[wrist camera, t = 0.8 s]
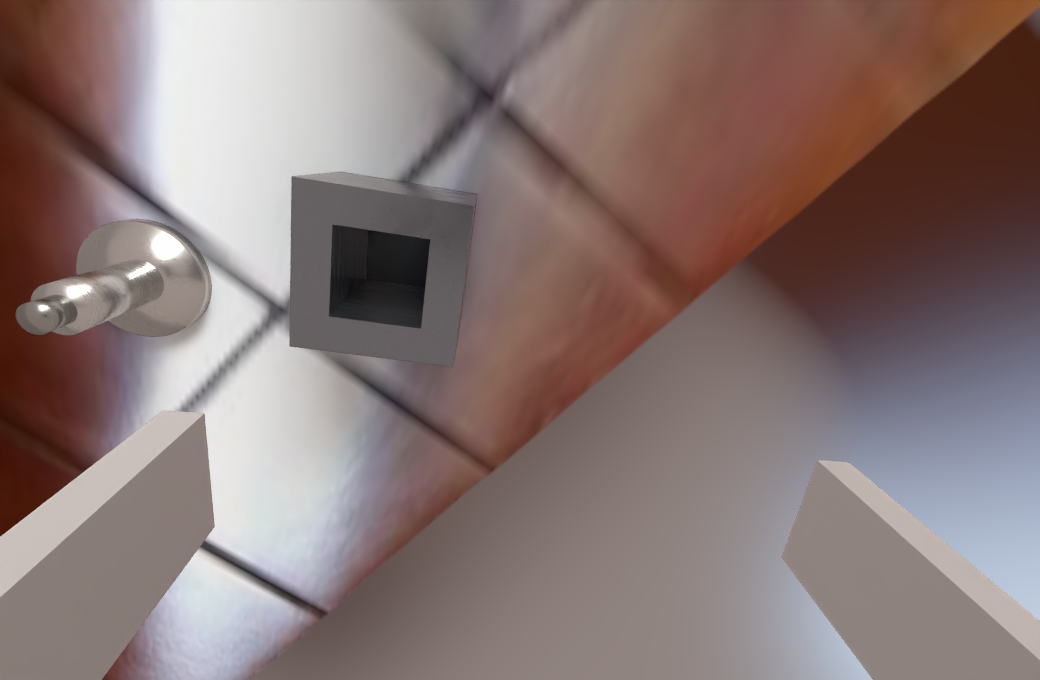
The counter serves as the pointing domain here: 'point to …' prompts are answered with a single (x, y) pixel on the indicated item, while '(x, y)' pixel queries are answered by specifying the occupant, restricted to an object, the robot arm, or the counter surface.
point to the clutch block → (343, 266)
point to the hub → (125, 284)
